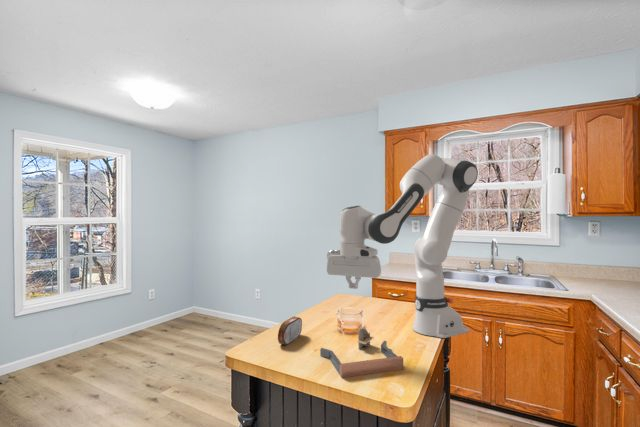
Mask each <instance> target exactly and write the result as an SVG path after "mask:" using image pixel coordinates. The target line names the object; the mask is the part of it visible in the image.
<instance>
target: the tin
mask: <svg viewBox="0 0 640 427" xmlns="http://www.w3.org/2000/svg"><path fill="white" fill-rule="evenodd" d="M302 330H303V320H302V318H301V317H298V316H295V315H294V316H292V317H290V318H288V319H286V320H284V321H283V322H282V323H281V325H280V327H279V329H278V332H277V341H278V342H277V343H278V344H280V345H284V346H288V345H289V344H291V343H292V342H294V341H296V340H297V339H298V338H299V337H300V335H301V333H302Z"/></svg>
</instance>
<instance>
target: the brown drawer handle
mask: <svg viewBox="0 0 640 427" xmlns="http://www.w3.org/2000/svg"><path fill="white" fill-rule="evenodd" d="M387 345H388V341H387V340H383V341H382V343H381V345H380V353H381V354H383V356H384V357H383V358H376V359H368V360H360V361H351V362H343V363H342V362H341V360H340V359H339V358H338V356H337V355H336V354H335V352H334V351H333V350H330V349H328V348H324V347H321V348H320V349H319V350H320V353H319V354H320V357H322V358H326V359H329V361H330V363H331V364H332V365H333V367H334V369H335V370H336V372H337V373H338V375H339V377H340V378H341V379H342V378H343V379H344V378H350V377H357V376H365V375H371V374H379V373H386V372H393V371H399V370H404V357H402V356H401V355H399V356H398V355H397V354H396V353H395V352H394V351H392V350H391V349H390V348H389V347H388V346H387Z"/></svg>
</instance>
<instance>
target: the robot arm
mask: <svg viewBox="0 0 640 427" xmlns="http://www.w3.org/2000/svg"><path fill="white" fill-rule="evenodd" d="M478 173H479V171H478V167H477V165H476V164H475V163H473V162H471V161H469V160H463V159H458V158H453V157H452V158H448V157H446V158H445V157H444V158H442V157H440V156H439V155H436V154H432V153H431V154H427V155H426V156H423V158H421V159H419V160H418V161H417V162H416V163H415V164H413V165H412V166H411V167H410V168H409V169H408V170H407V171H406V173H405V174H404V175H403V177H402V178H401V180H400V182H399V189H400V192H401V195H400V196H399V198H398V199H397V200H396V201H395V203H394V204H393V205H392V206H391V207H390V208H389V210H387V211H386V212H383V213H380V214H378V213H377V214H376V213H373V212H371V211H369V210H366V209H365V208H363V207H362V206H361V205H353V206H349V207H348V206H347V207H345V208H343V209H342V210H341V211H340V214H339V232H340V241H339V242H340V243H339V246H340V248H339V249H330V250H329V251H328V252H327V254H326V259H327V262H326V263H327V264H326V273H327V274H328V275H329V276H344V277H345V281H346V282H347V283H348V288H349V289H354V290H357V289H358V288H359V282H360V281H361V279H362V278H372V279H377V278H379V277H380V276H381V274H382V266H381V261H380V258H379V257H378V249H377V248H374V247H371V246H369V245H366V244H365V240H370V241H375V242H376V243H379V244H382V245H385V244H390V243H392V242H393V241H395V240H396V238H397V237H399V234H400V231H401V228H402V226H403V224H404V222H405V221H406V220H407V218H408V217H409V216H410V215H411V214H412V212H413V211H414V210H415V209H416V208H417V206H418V205H419V203H420V202H421V201H422V200H423V198H424V197H425V196H426V195H427V194H428V193H430V191H431V190H432V189H433V188H434V186H435V185H436V184H437V185H440V186H442V191H441V192H440V195H439V197H437V200H436V202H435V205H434V207H433V209H432V211H431V212H430V215H429V217H428V219H427V224H426V227H425V230H424V233H423V236H421V237H419V238H418V239H417V240H416V241H415V243H414V248H413V251H414V254H413V255H414V266H415V267H414V268H415V278H416V282H415V284H416V288H415V290H416V292H415V297H414V298H415V300H414V301H415V304H414V305H415V316H414V321H413V325H412V330H413V331H414V332H416V333H418V334H421V335H424V336H430V337H431V336H432V337H437V338H442V339H446V338H451V337H455V336H460V335H463V334H468V333H470V329H469V328H468V327H467V326H466V325H465V324H464V323H463V318H462V316H461V314H459V312H458V311H456V310H455V309H454V308H452V307H451V306H450V305H449V304H453V303H454V299H453V298H450V297H446V296H445V277H444V271H443V263H444V262H445V260H446V259H447V257H448V252H449V249H450V247H451V243H452V241H453V236H454V234H455V233H454V232H455V230H456V228H457V226H458V224H459V221H460V219H461V218H462V215H463V212H464V210H465V208H466V205H467V202H468V199H469V196H470V189H471V188H472V187H473V185H474V184H475V183H476V181H477V179H478V177H479V176H478V175H479V174H478ZM352 277H354V279H355V282H352Z"/></svg>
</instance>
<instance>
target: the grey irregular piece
mask: <svg viewBox="0 0 640 427" xmlns="http://www.w3.org/2000/svg"><path fill="white" fill-rule="evenodd" d="M366 327H367V326H366V325H363V326H362V327H360V328H359V329H358V330H357V331H358V333H357V334H358V336H357V337H358V338H357V339H358V341H357V343H358V350H360V349H361V348H363V347H368V346H370V345H371V341H372V340H373V339H374V336H371V333H370V332H368V330H367V328H366Z"/></svg>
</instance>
